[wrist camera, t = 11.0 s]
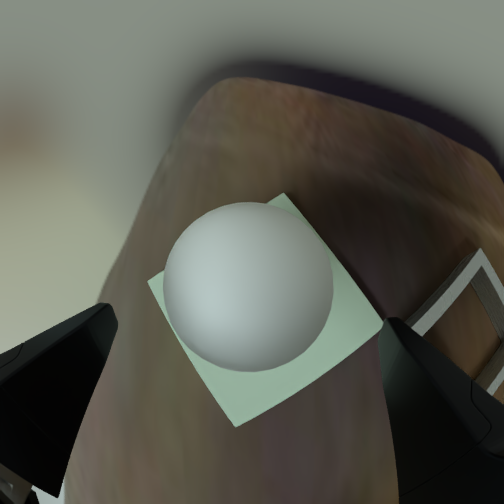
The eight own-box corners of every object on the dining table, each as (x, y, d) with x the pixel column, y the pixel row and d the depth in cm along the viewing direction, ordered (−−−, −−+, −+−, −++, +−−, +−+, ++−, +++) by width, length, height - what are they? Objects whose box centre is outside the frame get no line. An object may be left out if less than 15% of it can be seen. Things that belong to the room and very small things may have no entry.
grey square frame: (509, 342, 14) (527, 340, 12) (443, 426, 13) (460, 433, 11) (463, 257, 18) (480, 247, 15) (388, 336, 17) (403, 335, 14)
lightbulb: (302, 258, 18) (329, 157, 8) (313, 350, 16) (367, 370, 6) (213, 268, 19) (137, 184, 8) (219, 358, 17) (134, 384, 6)
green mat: (381, 325, 17) (385, 325, 16) (237, 424, 16) (235, 427, 15) (283, 197, 21) (283, 192, 20) (152, 283, 20) (147, 281, 19)
